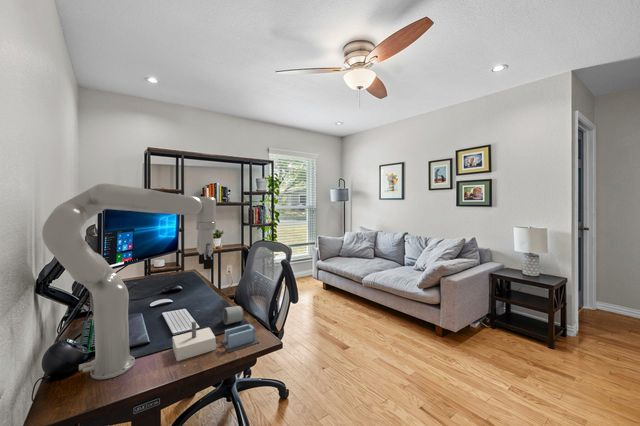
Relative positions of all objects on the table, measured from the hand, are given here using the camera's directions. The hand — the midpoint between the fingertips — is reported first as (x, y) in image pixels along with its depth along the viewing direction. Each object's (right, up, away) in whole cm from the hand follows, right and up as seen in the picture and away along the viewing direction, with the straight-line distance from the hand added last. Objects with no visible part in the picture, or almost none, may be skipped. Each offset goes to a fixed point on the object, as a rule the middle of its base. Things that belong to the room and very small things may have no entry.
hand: (205, 266), depth 118 cm
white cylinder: (+6, -31, +18) cm, 36 cm away
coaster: (+15, -32, -1) cm, 35 cm away
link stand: (-2, -32, -7) cm, 33 cm away
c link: (+15, -31, -1) cm, 35 cm away
